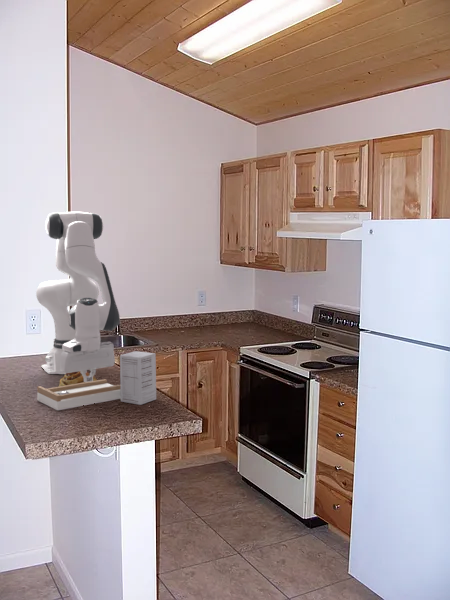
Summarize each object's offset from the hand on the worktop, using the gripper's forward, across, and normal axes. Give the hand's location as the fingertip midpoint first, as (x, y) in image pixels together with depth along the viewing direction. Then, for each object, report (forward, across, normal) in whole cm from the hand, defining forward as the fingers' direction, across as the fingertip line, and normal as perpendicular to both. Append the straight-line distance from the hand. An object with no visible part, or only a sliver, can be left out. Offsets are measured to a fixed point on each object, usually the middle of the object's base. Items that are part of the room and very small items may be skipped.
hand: (88, 381), depth 228 cm
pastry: (+7, -4, -15) cm, 17 cm away
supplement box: (+6, -12, +15) cm, 20 cm away
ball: (+4, +10, +1) cm, 11 cm away
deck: (+6, +3, +1) cm, 7 cm away
